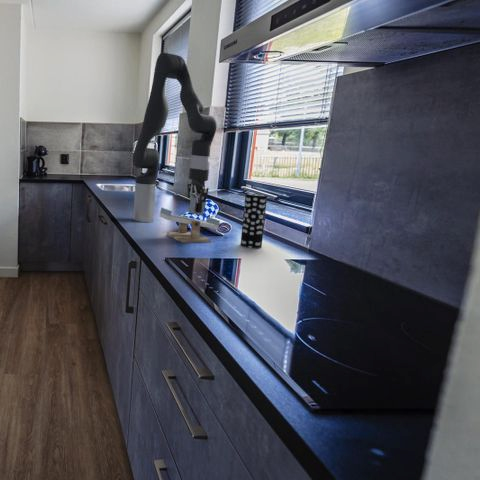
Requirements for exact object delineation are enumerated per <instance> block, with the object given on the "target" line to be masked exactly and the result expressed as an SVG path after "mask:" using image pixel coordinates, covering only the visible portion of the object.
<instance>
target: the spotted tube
mask: <svg viewBox="0 0 480 480" xmlns="http://www.w3.org/2000/svg"><path fill="white" fill-rule="evenodd" d="M244 198H245V199H244V206H243V207H244V208H243V215H242V225H241V236H240V237H241V238H240V243H239V245H240V246H241V247H244V248H251V249H260V248H262V244H263V236H264V228H265V218H266V212H267V211H266V210H267V201H268V195H264V194H259V193H251V192H250V193H245V196H244Z"/></svg>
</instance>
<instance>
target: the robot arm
mask: <svg viewBox="0 0 480 480" xmlns="http://www.w3.org/2000/svg"><path fill="white" fill-rule="evenodd" d="M167 79H172V80H176V81H178V83H179V84H180V87H181V88H180V92H179V99H180V103H181V104H182V106H183V109H184V110H185V112H186V116H187V121H188V126H189V129H191V130H192V131H193V132H194V133H195V134H201V136H200V138H198V139H195V140H193V141H192V144H191V152H190V153H191V155H190V159H189V171H188V174H189V175H188V178H189V179H188V180H191V182H190V183H187V199H189V201H191V197H193V198H196V199H197V203H196V212H197V213H201V212H202V203H203V202H206V203H207V198H208V193H209V190H210V189H209V187H206V183H205V182H208V181H209V176H210V175H209V174H210V165H211V164H210V159H211V158H210V157H211V156H210V155H211V146H212V143H213V141H214V139H215V135H216V132H217V128H218V124H217V120H216V118H215V117H214V116H212V115H208V114H203V113H204V111H205V106H204V104H203V102H202V100H201V98H200V97H199V95H198V94H197V91H196V89H195V87H194V83H193V81H192V77H191V74H190V71H189V68H188V65H187V63H186V60H185V58H183V57H182V56H180V55H177V54H175V53H174V54H173V53H170V52H161V53H160V54H158V56H157V58H156V62H155V66H154V72H153V79H152V85H151V89H150V94H149V97H148V98H149V99H148V102H147V105H146V108H145V111H144V112H145V113H144V117H143V122H142V126H141V129H140V133H139V136H138V140H137V142H136V144H135V148H134V151H133V154H132V165H133V166H134V167H135V168H137V169H146V171H145V172H144V173H142V174H140V175H136V177H135V180H134V181H135V182H134V185H135V186H134V200H133V201H134V202H133V203H134V204H133V218H132V219H133V221H134V222H140V223H141V222H142V223H151V222H154V221H155V220H154V219H155V218H154V216H155V205H156V203H155V202H156V190H157V189H156V186H157V179H158V173H159V164H160V163H159V162H160V154H159V151H158V149H156V148H150V147H148V146H149V144H150V142H151V141H152V140H153V138H155V137H156V136H157V135H158V134H159V133H160V132H161V131H162V129H163V128H164V127H165V125H166V122H167V119H168V115H169V111H170V110H169V104H168V100H167V97H166V93H165V86H166V80H167Z"/></svg>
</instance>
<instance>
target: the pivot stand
mask: <svg viewBox="0 0 480 480" xmlns="http://www.w3.org/2000/svg"><path fill="white" fill-rule="evenodd" d="M180 216H181V217H186V218H189V216H188V215H180ZM187 229H188V224H186V223H181V222H178V231H167V233H166V236H169V237H170V238H172V239H174V240H176V241H178V242H179V243H181V244H182V243H183V244H185V243H210V242H211V238H209V237H206V236H205V235H202V234H200V231H201V230H200V229H201V226H200V221H192V224H191V227H190V231H187Z"/></svg>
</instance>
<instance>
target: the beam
mask: <svg viewBox="0 0 480 480" xmlns="http://www.w3.org/2000/svg"><path fill="white" fill-rule="evenodd" d="M172 212H173V211H171V210H169V209H167V208H164V207H161V208H160V212H159V217H160V218H162V219H164V220H167V221H171V222H177V223H179V222H181V223H186V224H187V225H192V221H200V227H204V228H209V229H213V230H214V229H215V230H219V226H220V223H221V221H220V220H219V219H217V218H213V217H211V216H208V218H207V220H202V219H196V218H190V217H188V218H186V217H181V216H182V215H175V214H172Z"/></svg>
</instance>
